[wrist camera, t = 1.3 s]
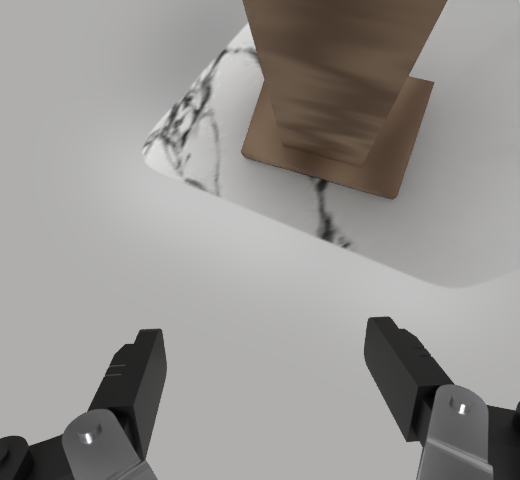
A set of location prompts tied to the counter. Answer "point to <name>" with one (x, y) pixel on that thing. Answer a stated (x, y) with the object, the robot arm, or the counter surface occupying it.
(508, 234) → the counter surface
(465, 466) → the robot arm
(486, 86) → the counter surface
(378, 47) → the wooden pedestal column
